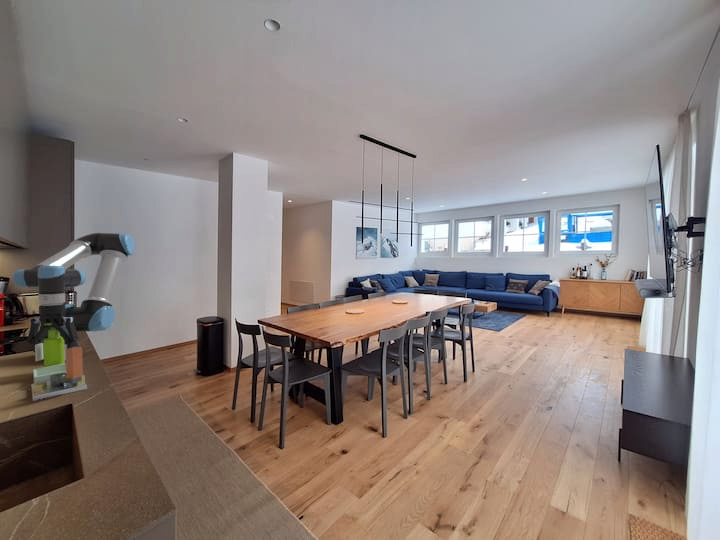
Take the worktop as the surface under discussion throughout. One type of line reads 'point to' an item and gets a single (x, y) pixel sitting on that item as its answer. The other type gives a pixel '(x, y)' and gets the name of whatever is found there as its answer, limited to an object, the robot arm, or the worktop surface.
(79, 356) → the crank
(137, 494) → the worktop surface
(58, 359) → the soap dispenser
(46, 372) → the tray
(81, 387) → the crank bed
